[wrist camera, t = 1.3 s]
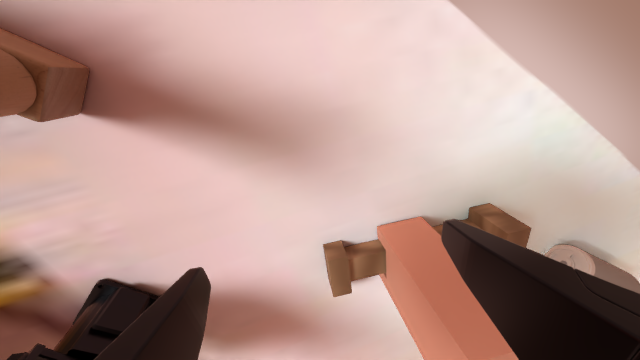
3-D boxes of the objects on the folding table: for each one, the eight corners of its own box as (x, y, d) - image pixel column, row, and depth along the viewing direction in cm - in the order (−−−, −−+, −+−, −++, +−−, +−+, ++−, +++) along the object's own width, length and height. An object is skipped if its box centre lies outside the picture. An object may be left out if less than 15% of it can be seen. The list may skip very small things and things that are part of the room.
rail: (329, 281, 28) (339, 321, 24) (322, 240, 26) (332, 275, 21) (482, 244, 30) (518, 274, 26) (489, 203, 28) (531, 228, 23)
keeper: (379, 274, 29) (458, 424, 17) (377, 226, 26) (471, 364, 14) (418, 265, 29) (524, 403, 17) (420, 216, 27) (550, 341, 14)
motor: (546, 227, 31) (586, 259, 27) (628, 269, 38) (669, 298, 34) (427, 323, 41) (442, 357, 37) (509, 342, 48) (530, 372, 44)
